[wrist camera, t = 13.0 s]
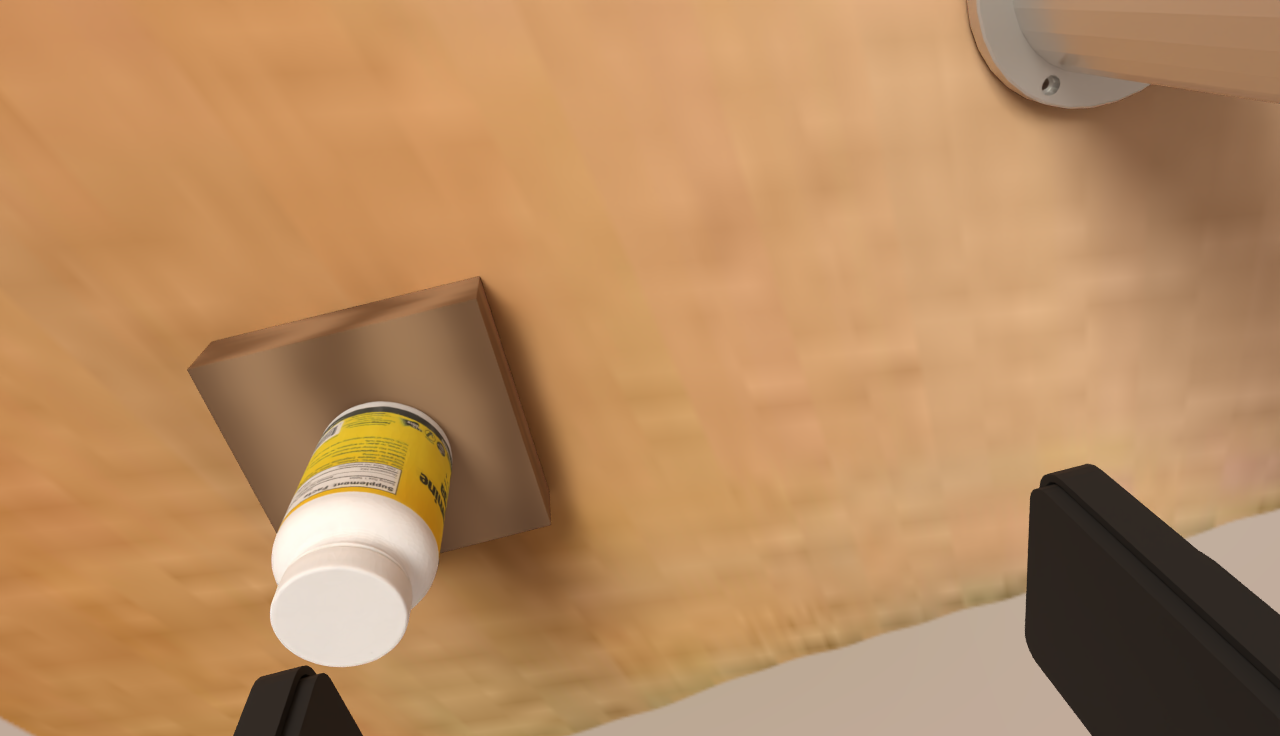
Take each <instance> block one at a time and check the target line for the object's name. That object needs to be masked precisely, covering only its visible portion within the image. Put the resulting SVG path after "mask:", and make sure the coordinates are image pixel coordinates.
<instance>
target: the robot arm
mask: <svg viewBox="0 0 1280 736" xmlns="http://www.w3.org/2000/svg"><path fill="white" fill-rule="evenodd" d="M967 6H968V14H969V21H970V26H971V29H972V32H973V35H974V38H975V41H976V44H977V47H978V50H979V51H980V53H981V55H982V56H983V58H984V60H985V61H986V63H987V65H988V66H989V68H990V70H991V71H992V72H993V73H994V74H995V75H996V76H997V77H998V78H999V79H1000V80H1001V81H1002V82H1003V83H1004V84H1005V85H1006V86H1007V87H1008V88H1010V89H1011V90H1013V91H1014V92H1016V93H1018V94H1019V95H1021V96H1023V97H1024V98H1026V99H1029V100H1032V101H1035V102H1039V103H1042V104H1045V105H1049V106H1055V107H1061V108H1067V109H1078V108H1094V107H1098V106H1102V105H1106V104H1110V103H1114V102H1118V101H1120V100H1122V99H1124V98H1127V97H1129V96H1131V95H1133V94H1136V93H1138V92H1140V91H1142V90H1143V89H1145V88H1146V87H1148V86H1150V85H1151V84H1154V85H1160V86H1167V87H1174V88H1180V89H1187V90H1193V91H1200V92H1206V93H1213V94H1219V95H1226V96H1233V97H1239V98H1246V99H1252V100H1259V101H1265V102H1272V103H1278V104H1280V0H967ZM1025 638H1026V642H1027V645H1028V648H1029V650H1030V652H1031V654H1032V656H1033V658H1034V660H1035V661H1036V663H1037V664H1038V665H1039V667H1040V668H1041V669H1042V671H1043V672H1044V673H1045V675H1046V676H1047V677H1048V679H1049V680H1050V681H1051V682H1052V684H1053V685H1054V686H1055V688H1056V689H1057V690H1058V692H1059V693H1060V694H1061V695H1062V697H1063V698H1064V699H1065V701H1066V702H1067V703H1068V705H1069V706H1070V707H1071V708H1072V710H1073V711H1074V713H1075V714H1076V715H1077V717H1078V718H1079V719H1080V720H1081V722H1082V723H1083V724H1084V726H1085V727H1086V728H1087V730H1088V731H1089V732H1090V734H1091V735H1092V736H1280V615H1279V614H1278V613H1277V612H1276V611H1274V610H1273V609H1272V608H1271V607H1270V606H1268V605H1267V604H1266V603H1265V602H1264V601H1262V600H1261V599H1260V598H1259V597H1258V596H1256V595H1255V594H1254V593H1253V592H1252V591H1250V590H1249V589H1248V588H1247V587H1245V586H1244V585H1243V584H1242V583H1241V582H1239V581H1238V580H1237V579H1236V578H1235V577H1233V576H1232V575H1231V574H1230V573H1228V572H1227V571H1226V570H1225V569H1224V568H1222V567H1221V566H1220V565H1219V564H1218V563H1216V562H1215V561H1214V560H1212V559H1211V558H1209V557H1208V556H1206V555H1205V554H1203V553H1202V552H1200V551H1198V550H1197V549H1196V548H1195V547H1193V546H1192V545H1191V544H1190V543H1189V542H1188V541H1186V540H1185V539H1184V538H1183V537H1182V536H1180V535H1179V534H1178V533H1177V532H1175V531H1174V530H1173V529H1172V528H1171V527H1169V526H1168V525H1167V524H1166V523H1165V522H1163V521H1162V520H1161V519H1160V518H1159V517H1157V516H1156V515H1155V514H1154V513H1153V512H1151V511H1150V510H1149V509H1148V508H1147V507H1145V506H1144V505H1143V504H1142V503H1141V502H1139V501H1138V500H1137V499H1136V498H1135V497H1133V496H1132V495H1131V494H1130V493H1129V492H1127V491H1126V490H1125V489H1124V488H1123V487H1121V486H1120V485H1119V484H1118V483H1117V482H1115V481H1114V480H1113V479H1112V478H1110V477H1109V476H1108V475H1107V474H1106V473H1104V472H1103V471H1102V470H1101V469H1099V468H1098V467H1096V466H1095V465H1091V464H1085V465H1081V466H1077V467H1073V468H1069V469H1065V470H1062V471H1058V472H1054V473H1050V474H1047V475H1044V476H1043V478H1042V479H1041V482H1040V487H1039V488H1038V489H1034V490H1033V491H1032V493H1031V496H1030V514H1029V540H1028V566H1027V591H1026V618H1025ZM233 736H363V735H362V733H361V731H360V730H359V728H358V726H357V724H356V723H355V721H354V719H353V717H352V716H351V714H350V712H349V710H348V709H347V707H346V705H345V703H344V702H343V700H342V698H341V696H340V695H339V693H338V691H337V689H336V688H335V686H334V684H333V682H332V681H331V679H330V678H329V676H328V675H327V674H325V673H321V674H316V673H315V672H314V670H313V669H312V668H311V667H309V666H301V667H297V668H293V669H289V670H285V671H281V672H277V673H274V674H270V675H266V676H262V677H260V678H259V679H258V680H256V681H255V683H254V685H253V687H252V689H251V691H250V694H249V697H248V699H247V702H246V704H245V707H244V709H243V712H242V715H241V717H240V720H239V722H238V725H237V727H236V730H235V733H234V735H233Z"/></svg>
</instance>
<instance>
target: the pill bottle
mask: <svg viewBox="0 0 1280 736" xmlns="http://www.w3.org/2000/svg"><path fill="white" fill-rule="evenodd" d="M451 473H452V452H451V447H450V444H449V441H448V439H447V437H446V435H445V433H444V432H443V430H442V429H441V428H440V426H439V425H438V424H437V423H436V422H435V421H434V420H432V419H431V418H430V417H429V416H427V415H426V414H425V413H423V412H421V411H419V410H417V409H415V408H413V407H410V406H407V405H403V404H399V403H395V402H383V401H378V402H370V403H365V404H361V405H357V406H355V407H352V408H350V409H348V410H346V411H344V412H343V413H341V414H340V415H339V416H337V417H336V418H335V419H334V420H333V421H332V422H331V423H330V424H329V426H328V427H327V428H326V430H325V431H324V433H323V435H322V437H321V438H320V440H319V442H318V444H317V446H316V449H315V451H314V453H313V455H312V457H311V459H310V462H309V464H308V466H307V468H306V470H305V472H304V475H303V477H302V479H301V481H300V483H299V486H298V488H297V490H296V492H295V494H294V496H293V499H292V501H291V503H290V505H289V508H288V510H287V512H286V514H285V516H284V519H283V521H282V523H281V525H280V528H279V530H278V533H277V535H276V538H275V541H274V545H273V550H272V570H273V574H274V577H275V580H276V582H277V585H278V587H277V590H276V593H275V595H274V598H273V601H272V604H271V608H270V620H271V625H272V627H273V630H274V632H275V634H276V636H277V637H278V639H279V640H280V641H281V643H282V644H283V645H284V646H285V647H286V648H287V649H289V650H290V651H291V652H292V653H294V654H295V655H297V656H299V657H301V658H303V659H304V660H307V661H310V662H313V663H316V664H320V665H324V666H331V667H349V666H357V665H361V664H365V663H369V662H372V661H374V660H377V659H378V658H380V657H382V656H384V655H385V654H387V653H388V652H389V651H391V650H392V649H393V648H394V647H395V646H396V645H397V644H398V643H399V641H400V640H401V639H402V637H403V635H404V633H405V631H406V628H407V625H408V621H409V616H410V611H411V609H412V608H413V607H415V606H416V605H417V604H418V603H419V602H420V601H421V600H422V598H423V597H424V596H425V595H426V593H427V592H428V590H429V589H430V587H431V585H432V583H433V580H434V578H435V575H436V572H437V568H438V564H439V558H440V550H441V542H442V535H443V527H444V520H445V513H446V507H447V499H448V494H449V487H450V479H451Z"/></svg>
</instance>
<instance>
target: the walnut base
mask: <svg viewBox="0 0 1280 736" xmlns="http://www.w3.org/2000/svg"><path fill="white" fill-rule="evenodd" d="M187 371H188V372H189V374H190V376H191V378H192V380H193V382H194V383H195V385H196V387H197V389H198V391H199V393H200V394H201V396H202V398H203V400H204V402H205V404H206V405H207V407H208V409H209V411H210V413H211V414H212V416H213V418H214V420H215V422H216V424H217V425H218V427H219V429H220V431H221V433H222V435H223V436H224V438H225V440H226V442H227V444H228V445H229V447H230V449H231V451H232V453H233V455H234V456H235V458H236V460H237V462H238V464H239V466H240V467H241V469H242V471H243V473H244V475H245V477H246V478H247V480H248V482H249V484H250V486H251V487H252V489H253V491H254V493H255V495H256V497H257V498H258V500H259V502H260V504H261V506H262V508H263V509H264V511H265V513H266V515H267V517H268V518H269V520H270V522H271V524H272V526H273V528H274V529H275V531H276V533H278V530H279V528H280V525H281V523H282V521H283V519H284V516H285V514H286V512H287V510H288V508H289V505H290V503H291V501H292V499H293V496H294V494H295V492H296V490H297V488H298V486H299V483H300V481H301V479H302V477H303V475H304V472H305V470H306V468H307V466H308V464H309V462H310V459H311V457H312V455H313V453H314V451H315V449H316V446H317V444H318V442H319V440H320V438H321V437H322V435H323V433H324V431H325V430H326V428H327V427H328V426H329V424H330V423H331V422H332V421H333V420H334V419H335V418H336V417H337V416H339V415H340V414H341V413H343V412H344V411H346V410H348V409H350V408H352V407H355V406H357V405H361V404H365V403H370V402H378V401H383V402H395V403H399V404H403V405H407V406H410V407H413V408H415V409H417V410H419V411H421V412H423V413H425V414H426V415H427V416H429V417H430V418H431V419H432V420H434V421H435V422H436V423H437V424H438V425H439V426H440V428H441V429H442V430H443V432H444V433H445V435H446V437H447V439H448V441H449V444H450V447H451V452H452V473H451V479H450V487H449V494H448V499H447V507H446V513H445V520H444V527H443V535H442V542H441V550H440V553H443V552H447V551H451V550H454V549H458V548H462V547H466V546H470V545H474V544H478V543H482V542H486V541H490V540H494V539H498V538H502V537H505V536H509V535H513V534H517V533H521V532H525V531H529V530H533V529H537V528H541V527H545V526H549V525H551V514H550V495H549V489H548V486H547V483H546V480H545V477H544V473H543V470H542V467H541V464H540V461H539V458H538V455H537V452H536V449H535V446H534V443H533V440H532V436H531V433H530V430H529V427H528V424H527V421H526V418H525V415H524V412H523V409H522V406H521V403H520V400H519V396H518V393H517V390H516V387H515V384H514V381H513V378H512V375H511V372H510V369H509V366H508V363H507V359H506V356H505V353H504V350H503V347H502V344H501V341H500V338H499V335H498V332H497V329H496V326H495V322H494V319H493V316H492V313H491V310H490V307H489V304H488V301H487V298H486V295H485V292H484V289H483V286H482V282H481V279H480V276H479V277H475V278H471V279H467V280H462V281H458V282H454V283H450V284H446V285H442V286H438V287H434V288H430V289H426V290H422V291H417V292H413V293H409V294H405V295H401V296H397V297H393V298H389V299H385V300H381V301H377V302H372V303H368V304H364V305H360V306H356V307H352V308H348V309H344V310H340V311H336V312H332V313H328V314H323V315H319V316H315V317H311V318H307V319H303V320H299V321H295V322H291V323H287V324H283V325H278V326H274V327H270V328H266V329H262V330H258V331H254V332H250V333H246V334H242V335H238V336H234V337H229V338H225V339H221V340H217V341H213V342H211V343H210V344H209V345H208V347H207V348H206V349H205V350H204V351H203V352H202V353H201V354H200V356H199V357H198V358H197V359H196V360H195V361H194V362H193V364H192V365H191V366H190V367H189V368H188V369H187Z"/></svg>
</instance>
